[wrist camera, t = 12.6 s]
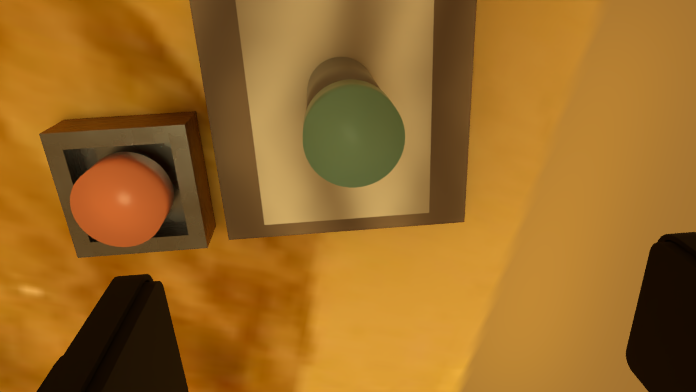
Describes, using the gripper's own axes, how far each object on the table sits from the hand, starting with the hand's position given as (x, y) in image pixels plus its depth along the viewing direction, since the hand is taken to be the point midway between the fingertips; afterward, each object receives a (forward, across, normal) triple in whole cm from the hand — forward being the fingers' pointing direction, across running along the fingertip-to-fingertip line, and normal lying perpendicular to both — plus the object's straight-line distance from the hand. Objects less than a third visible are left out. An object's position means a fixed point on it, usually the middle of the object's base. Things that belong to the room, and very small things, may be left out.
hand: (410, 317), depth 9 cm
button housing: (+23, +13, +5) cm, 27 cm away
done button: (+20, +13, +5) cm, 25 cm away
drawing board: (+23, 0, 0) cm, 23 cm away
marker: (+22, 0, 0) cm, 22 cm away
